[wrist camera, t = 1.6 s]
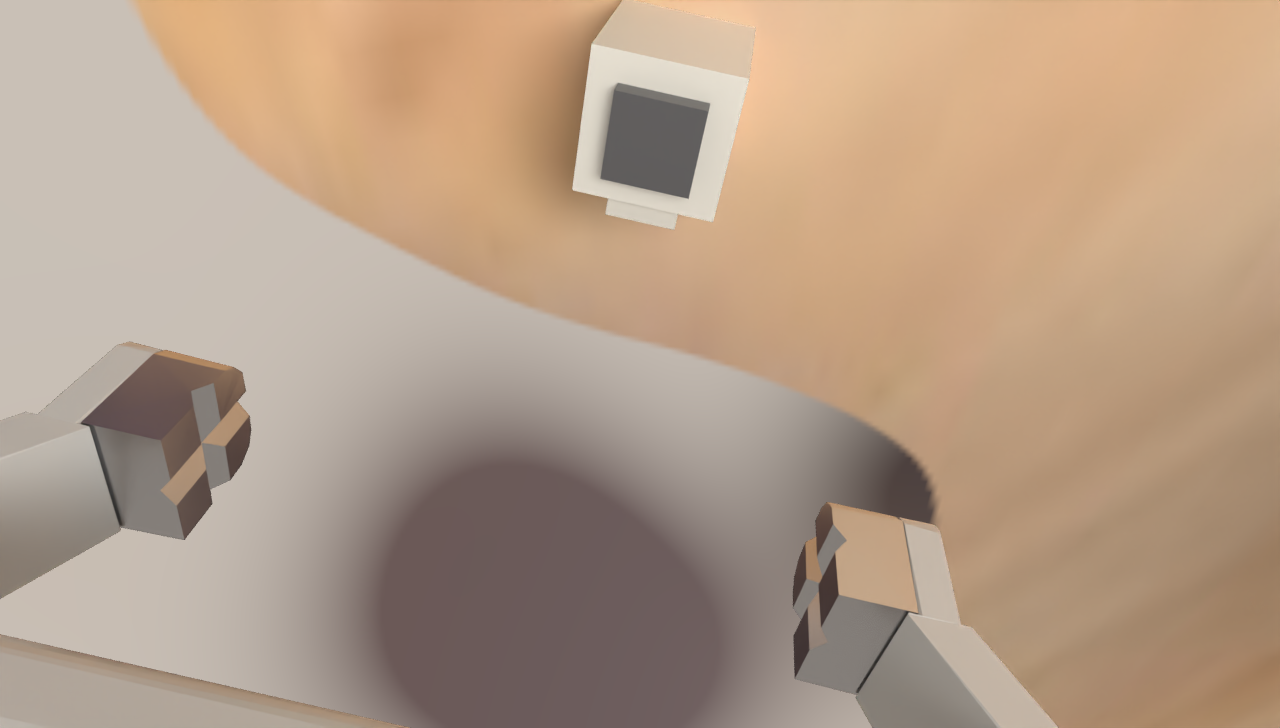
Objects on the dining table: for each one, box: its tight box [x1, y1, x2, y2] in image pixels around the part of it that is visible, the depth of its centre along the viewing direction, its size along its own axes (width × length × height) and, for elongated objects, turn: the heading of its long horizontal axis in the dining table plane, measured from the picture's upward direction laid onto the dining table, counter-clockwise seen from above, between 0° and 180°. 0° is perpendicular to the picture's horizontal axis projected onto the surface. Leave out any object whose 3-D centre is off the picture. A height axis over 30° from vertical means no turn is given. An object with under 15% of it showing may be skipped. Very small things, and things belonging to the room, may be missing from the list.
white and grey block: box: [572, 0, 756, 230], centre depth 23 cm, size 4×5×6 cm
